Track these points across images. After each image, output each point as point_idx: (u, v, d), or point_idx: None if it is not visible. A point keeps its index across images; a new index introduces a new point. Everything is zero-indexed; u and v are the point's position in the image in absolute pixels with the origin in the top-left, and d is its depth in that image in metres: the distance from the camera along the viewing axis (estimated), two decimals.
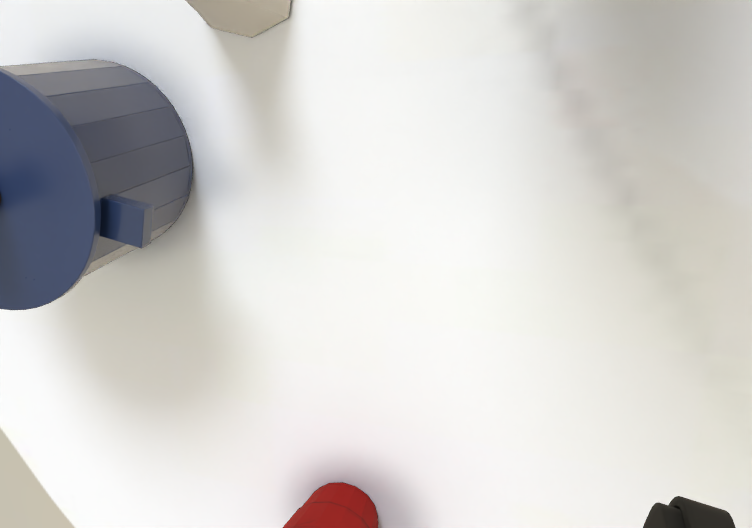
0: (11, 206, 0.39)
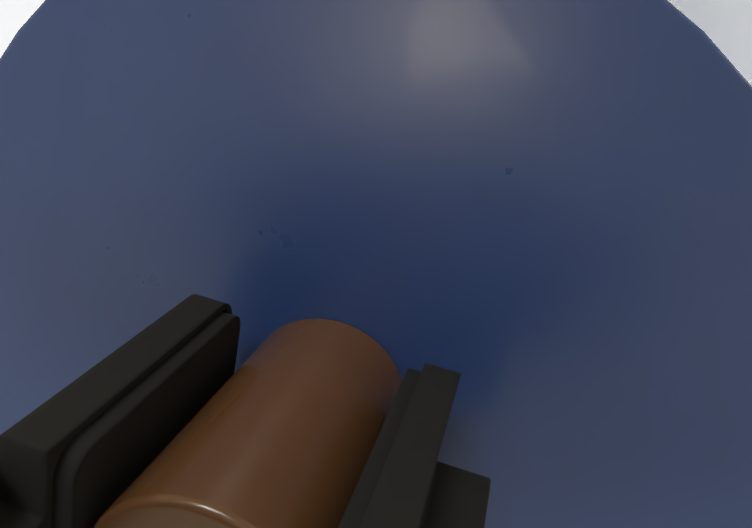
0: None
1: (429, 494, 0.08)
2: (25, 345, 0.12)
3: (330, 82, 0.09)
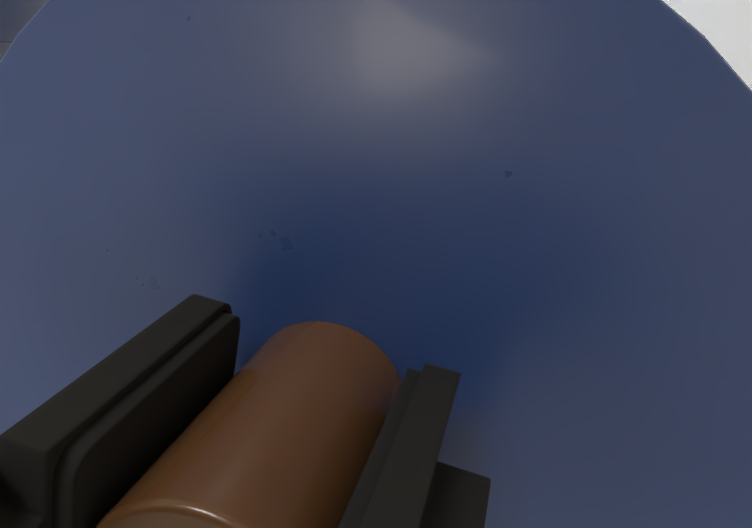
0: None
1: (429, 494, 0.08)
2: (24, 347, 0.12)
3: (330, 85, 0.09)
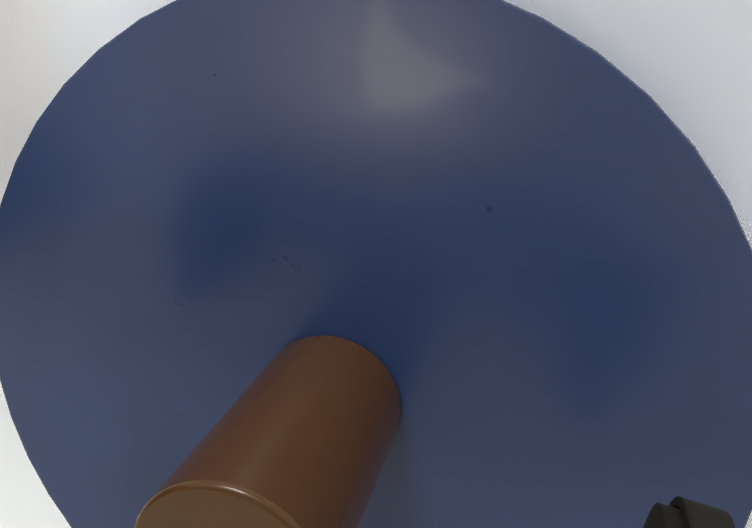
0: (430, 443, 0.12)
1: None
2: (59, 359, 0.14)
3: (336, 133, 0.11)
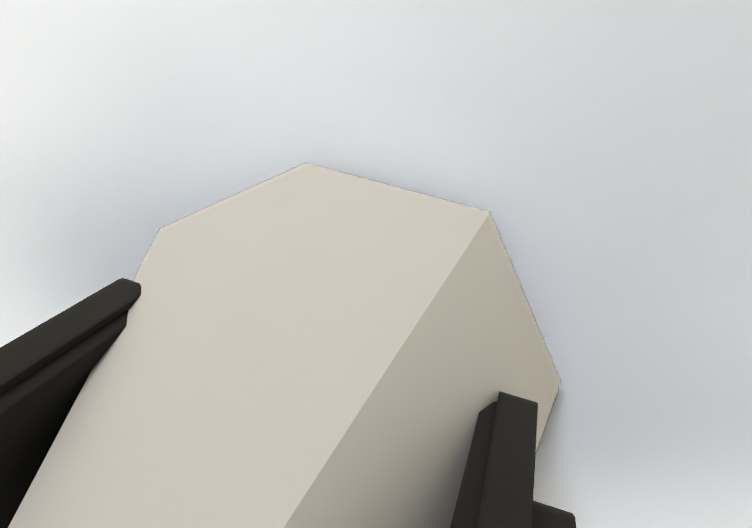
0: None
1: None
2: None
3: None
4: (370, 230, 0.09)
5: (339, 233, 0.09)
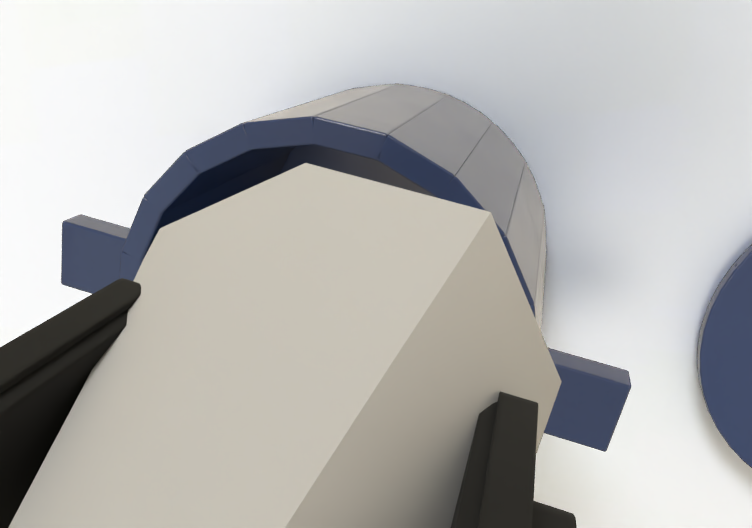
0: None
1: None
2: (743, 343, 0.28)
3: None
4: (370, 230, 0.09)
5: (338, 234, 0.09)
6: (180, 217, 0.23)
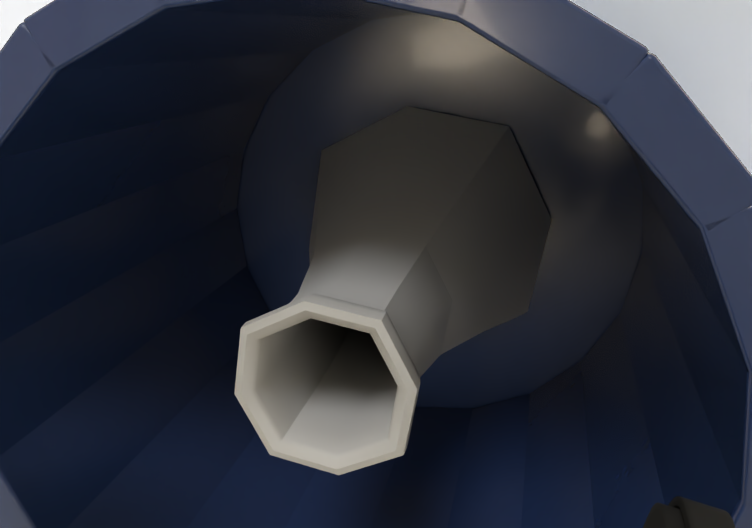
0: None
1: None
2: None
3: None
4: (447, 135, 0.18)
5: (432, 136, 0.18)
6: (46, 177, 0.12)
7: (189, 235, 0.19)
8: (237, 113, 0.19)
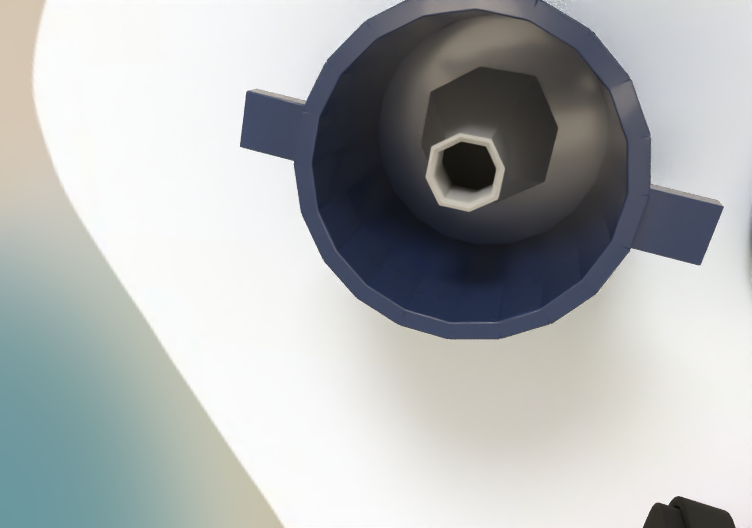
0: None
1: None
2: None
3: None
4: (503, 80, 0.34)
5: (495, 81, 0.34)
6: (345, 86, 0.28)
7: (362, 136, 0.35)
8: (389, 69, 0.35)
